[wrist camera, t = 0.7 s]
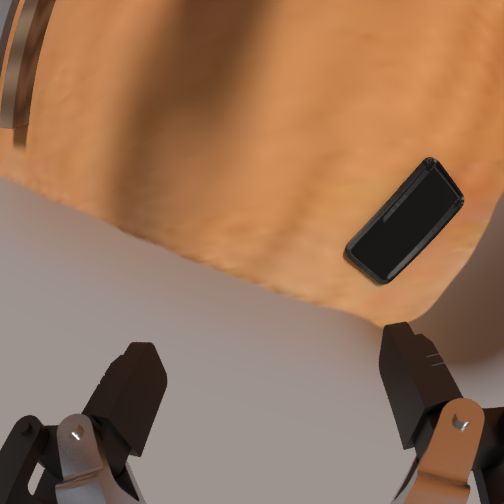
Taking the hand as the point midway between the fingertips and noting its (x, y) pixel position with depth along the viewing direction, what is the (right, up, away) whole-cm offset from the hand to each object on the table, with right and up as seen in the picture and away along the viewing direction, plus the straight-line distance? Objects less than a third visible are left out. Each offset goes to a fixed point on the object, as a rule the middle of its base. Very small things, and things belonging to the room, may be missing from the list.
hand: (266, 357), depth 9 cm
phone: (+17, +7, +21) cm, 28 cm away
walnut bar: (-28, +29, +12) cm, 41 cm away
